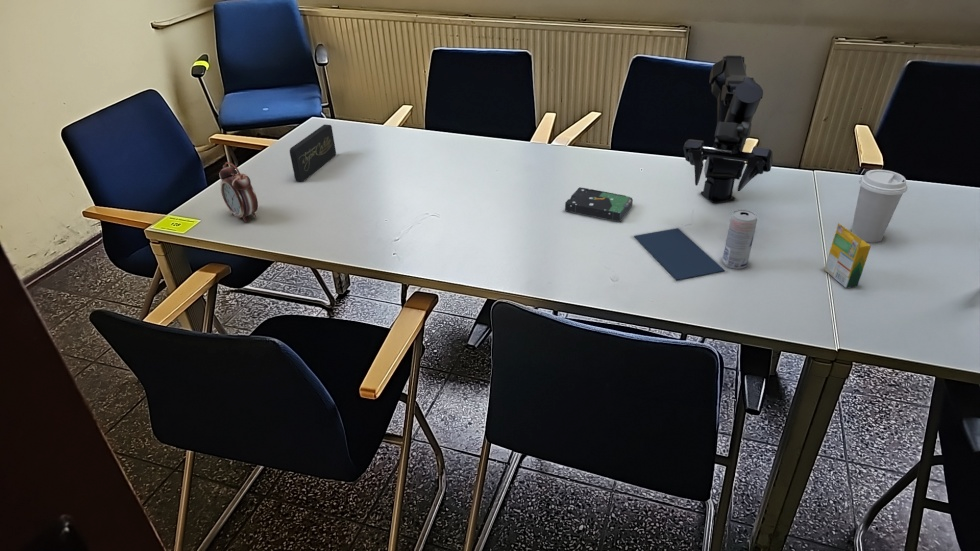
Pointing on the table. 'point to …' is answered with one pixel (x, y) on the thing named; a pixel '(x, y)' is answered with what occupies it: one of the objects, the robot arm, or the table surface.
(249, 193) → the alarm clock
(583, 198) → the disk drive
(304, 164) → the nameplate
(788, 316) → the table surface
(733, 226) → the energy drink
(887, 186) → the coffee cup
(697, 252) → the mat
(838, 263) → the crayon box
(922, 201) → the table surface
